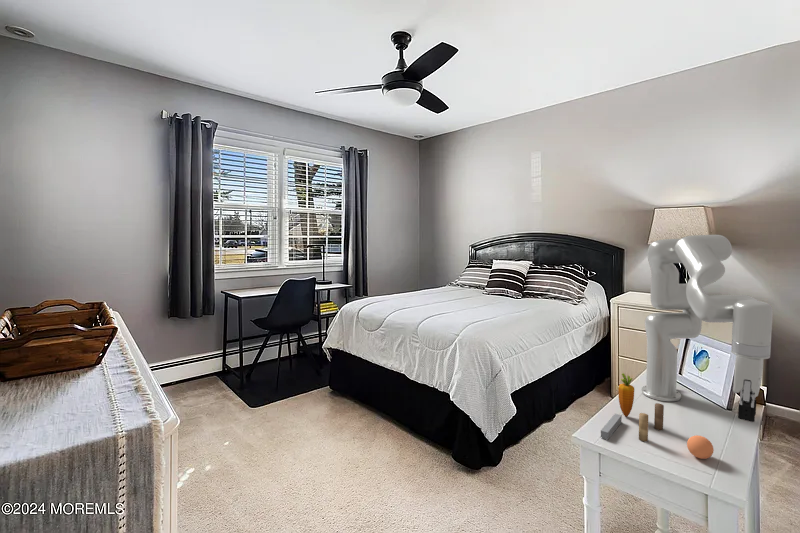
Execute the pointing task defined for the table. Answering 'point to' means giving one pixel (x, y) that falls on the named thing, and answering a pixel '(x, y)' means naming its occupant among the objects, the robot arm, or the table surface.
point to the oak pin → (643, 427)
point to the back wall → (611, 426)
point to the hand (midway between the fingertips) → (746, 416)
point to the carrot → (626, 395)
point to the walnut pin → (658, 417)
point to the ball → (700, 447)
